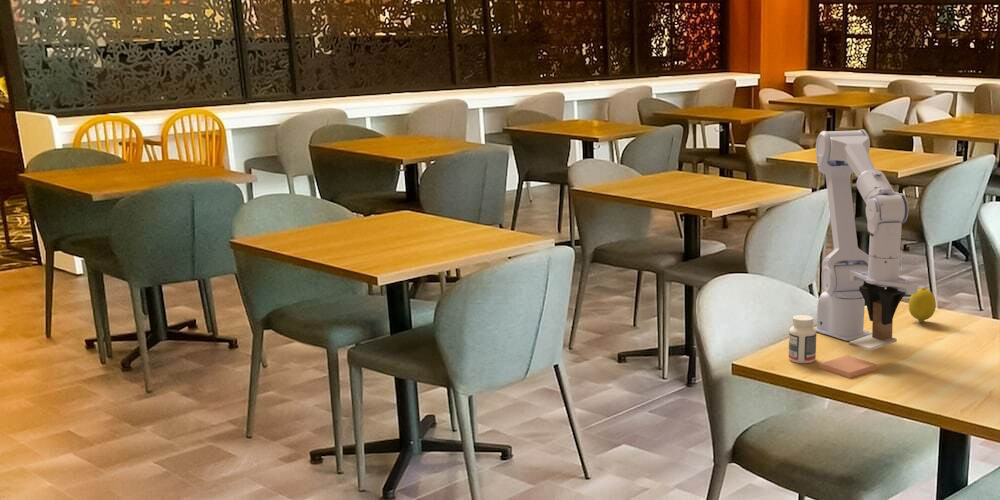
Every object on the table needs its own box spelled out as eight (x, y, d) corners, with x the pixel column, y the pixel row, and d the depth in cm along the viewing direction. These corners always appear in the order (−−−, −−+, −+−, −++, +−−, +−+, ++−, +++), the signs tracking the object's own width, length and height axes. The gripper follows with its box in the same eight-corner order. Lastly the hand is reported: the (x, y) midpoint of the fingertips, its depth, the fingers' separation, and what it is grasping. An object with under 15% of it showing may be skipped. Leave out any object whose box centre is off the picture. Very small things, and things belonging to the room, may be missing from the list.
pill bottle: (816, 356, 210) (817, 314, 208) (814, 364, 205) (816, 322, 203) (789, 354, 212) (790, 313, 210) (787, 362, 207) (788, 320, 205)
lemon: (936, 326, 227) (939, 291, 225) (910, 325, 228) (912, 290, 226) (931, 318, 232) (934, 284, 230) (905, 318, 233) (907, 284, 232)
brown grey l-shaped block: (848, 344, 205) (849, 306, 203) (876, 335, 209) (877, 297, 207) (869, 351, 201) (870, 312, 199) (897, 341, 205) (898, 302, 203)
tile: (847, 362, 207) (820, 370, 203) (847, 355, 207) (820, 363, 203) (876, 372, 202) (849, 380, 197) (877, 364, 201) (849, 372, 197)
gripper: (840, 251, 206) (837, 316, 209) (902, 265, 194) (898, 334, 197) (864, 246, 210) (861, 310, 213) (926, 259, 198) (922, 327, 201)
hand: (880, 321), depth 205 cm, fingers closed on brown grey l-shaped block, 2 cm apart
